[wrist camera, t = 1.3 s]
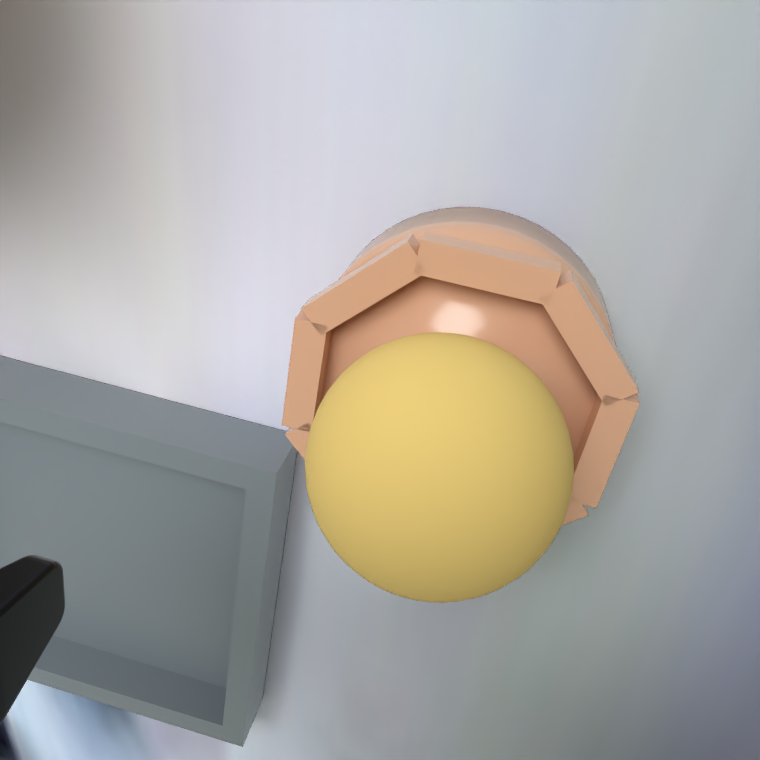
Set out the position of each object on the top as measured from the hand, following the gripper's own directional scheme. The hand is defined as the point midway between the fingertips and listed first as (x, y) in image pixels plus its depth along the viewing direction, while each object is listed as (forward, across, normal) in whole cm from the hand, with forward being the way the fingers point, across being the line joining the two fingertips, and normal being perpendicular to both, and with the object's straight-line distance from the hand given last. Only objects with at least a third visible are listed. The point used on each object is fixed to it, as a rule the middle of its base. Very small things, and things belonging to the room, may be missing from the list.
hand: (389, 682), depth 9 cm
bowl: (+11, 0, 0) cm, 11 cm away
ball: (+8, 0, 0) cm, 8 cm away
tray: (+10, +10, +10) cm, 18 cm away
